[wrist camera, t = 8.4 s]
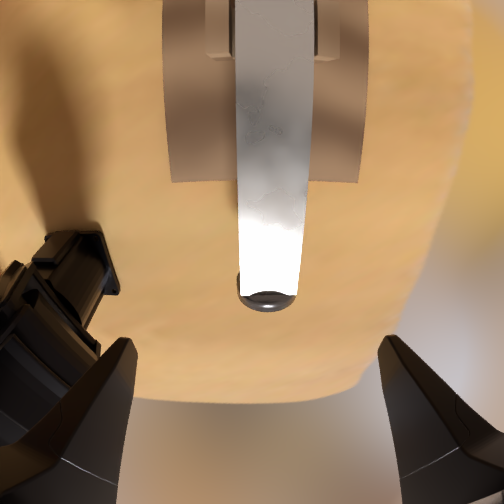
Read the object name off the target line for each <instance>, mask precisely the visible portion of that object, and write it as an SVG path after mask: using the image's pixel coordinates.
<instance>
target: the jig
mask: <svg viewBox="0 0 504 504" xmlns="http://www.w3.org/2000/svg"><path fill="white" fill-rule="evenodd" d="M162 54H163V84H164V102H165V117H166V130H167V142H168V152H169V162H170V171H171V180H172V183H175V182H195V181H223V180H237V138H236V70H235V0H163V11H162ZM368 59H369V24H368V0H314V84H313V111H312V132H311V148H310V163H309V177H308V181H327V182H346V183H358V177H359V170H360V162H361V154H362V146H363V137H364V127H365V115H366V102H367V86H368Z"/></svg>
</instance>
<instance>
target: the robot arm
mask: <svg viewBox="0 0 504 504" xmlns="http://www.w3.org/2000/svg"><path fill="white" fill-rule="evenodd" d="M95 236H97V237H98V239H97V238H96V237H95ZM44 240H45V243H44V245H43V246H42V247H41V248H40V249H39V250H38V251H37V252H36V254H35V255H34V256H33V257H32V259H31V262H30V263H28V264H26V265H24V264H23V263H20V262H18V261H16V260H14V261H13V262H11V264H10V265H9V266H8V267H7V268H6V269H5V271H4V272H3V273H2V274H1V276H0V504H116V499H117V488H118V486H117V485H118V480H119V473H120V466H121V459H122V453H123V445H124V441H125V435H126V429H127V424H128V419H129V414H130V409H131V404H132V399H133V394H134V385H135V376H136V367H137V359H138V353H137V350H136V348H135V346H134V344H133V342H132V340H131V339H130V338H126V337H120V338H118V339H117V340H116V341H115V342H114V343H113V344H112V345H111V346H110V347H109V348H108V349H107V350H106V351H105V352H104V354H103V355H102V356H101V357H100V352H101V344H100V343H99V342H98V341H97V340H95V339H94V338H93V337H92V336H91V335H90V334H89V333H88V332H87V331H86V330H87V327H88V325H89V323H90V321H91V319H92V317H93V315H94V313H95V311H96V309H97V307H98V305H99V303H100V301H101V299H102V297H103V295H118V294H119V292H120V287H119V284H118V281H117V278H116V275H115V272H114V270H113V267H112V264H111V261H110V257H109V254H108V251H107V248H106V245H105V241H104V238H103V235H102V233H101V232H99V231H81V232H79V231H77V230H71V231H56V232H55V233H48V234H47V235H46V236H45V237H44ZM114 289H115V290H114ZM378 360H379V367H380V374H381V382H382V389H383V394H384V398H385V403H386V407H387V411H388V416H389V421H390V426H391V431H392V436H393V441H394V447H395V452H396V458H397V464H398V471H399V478H400V486H401V494H402V504H504V433H502V432H500V431H498V430H496V429H495V428H494V427H493V426H492V425H490V424H489V423H488V422H487V421H486V420H484V419H483V418H482V417H481V416H480V415H479V414H478V413H476V412H475V411H474V410H473V409H472V408H471V407H470V406H469V405H468V404H466V403H465V402H464V401H463V400H462V399H461V398H460V397H459V395H458V394H456V393H455V392H454V391H453V390H452V388H450V386H449V385H448V384H447V383H446V382H445V381H444V380H443V379H441V378H440V377H439V376H438V375H437V374H436V373H435V372H434V371H433V370H432V369H431V368H430V367H429V366H428V365H427V364H426V363H425V362H424V361H423V360H422V359H421V358H420V357H419V356H418V355H417V354H416V353H415V352H414V351H413V350H412V349H410V347H408V345H406V344H405V343H404V342H403V341H402V340H401V339H400V338H399V337H398V336H397V335H394V334H393V335H386V336H385V337H384V339H383V341H382V343H381V344H380V346H379V348H378Z"/></svg>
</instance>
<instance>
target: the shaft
mask: <svg viewBox="0 0 504 504" xmlns="http://www.w3.org/2000/svg"><path fill="white" fill-rule="evenodd" d="M235 70H236V138H237V183H238V219H239V251H240V272H239V273H238V276H237V294H238V297H239V299H240V301H241V302H242V303H243V304H244V305H245V306H247V307H249V308H251V309H253V310H256V311H260V312H275V311H279V310H282V309H285V308H286V307H288V306H289V305H291V304H292V303H293V301H294V300H295V298H296V293H297V285H298V276H299V268H300V259H301V250H302V241H303V232H304V222H305V212H306V201H307V189H308V177H309V163H310V148H311V132H312V111H313V84H314V0H235Z"/></svg>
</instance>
